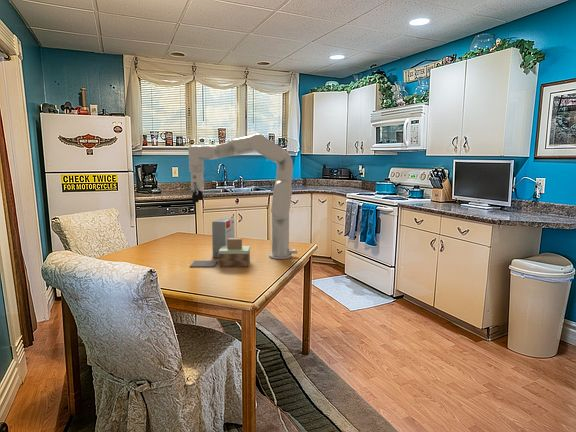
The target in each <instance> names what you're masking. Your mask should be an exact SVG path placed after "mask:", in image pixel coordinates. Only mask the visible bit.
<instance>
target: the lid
mask: <svg viewBox="0 0 576 432" xmlns="http://www.w3.org/2000/svg"><path fill="white" fill-rule="evenodd" d="M249 250H251V245H243V238H242V237H234V238H228V239H227V246H222V247H221V248H220V250H219V254H248V253H249Z"/></svg>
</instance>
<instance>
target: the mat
mask: <svg viewBox="0 0 576 432" xmlns="http://www.w3.org/2000/svg"><path fill="white" fill-rule="evenodd" d="M217 263H218V260H194V261H192V263H191V264H190V265H189V268H215V267H216V264H217Z"/></svg>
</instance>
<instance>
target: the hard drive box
mask: <svg viewBox="0 0 576 432" xmlns="http://www.w3.org/2000/svg"><path fill="white" fill-rule="evenodd" d="M211 224H212V225H211V228H212V229H211V231H212V232H211V234H212V238H211V239H212V246H211V247H212V257H213V258H220V256H219V250H220V248H221V247H222V246H227V239H228V238H235V218H234V217H221V218H218V219H216V220H213V221H212V222H211Z"/></svg>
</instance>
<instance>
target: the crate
mask: <svg viewBox="0 0 576 432" xmlns="http://www.w3.org/2000/svg"><path fill="white" fill-rule="evenodd" d="M250 250H251V249H250ZM250 250H249V253H248V254H219V256H220V257H219V268H249V265H250V262H251V259H250V258H251V254H250V253H251V252H250Z"/></svg>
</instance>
